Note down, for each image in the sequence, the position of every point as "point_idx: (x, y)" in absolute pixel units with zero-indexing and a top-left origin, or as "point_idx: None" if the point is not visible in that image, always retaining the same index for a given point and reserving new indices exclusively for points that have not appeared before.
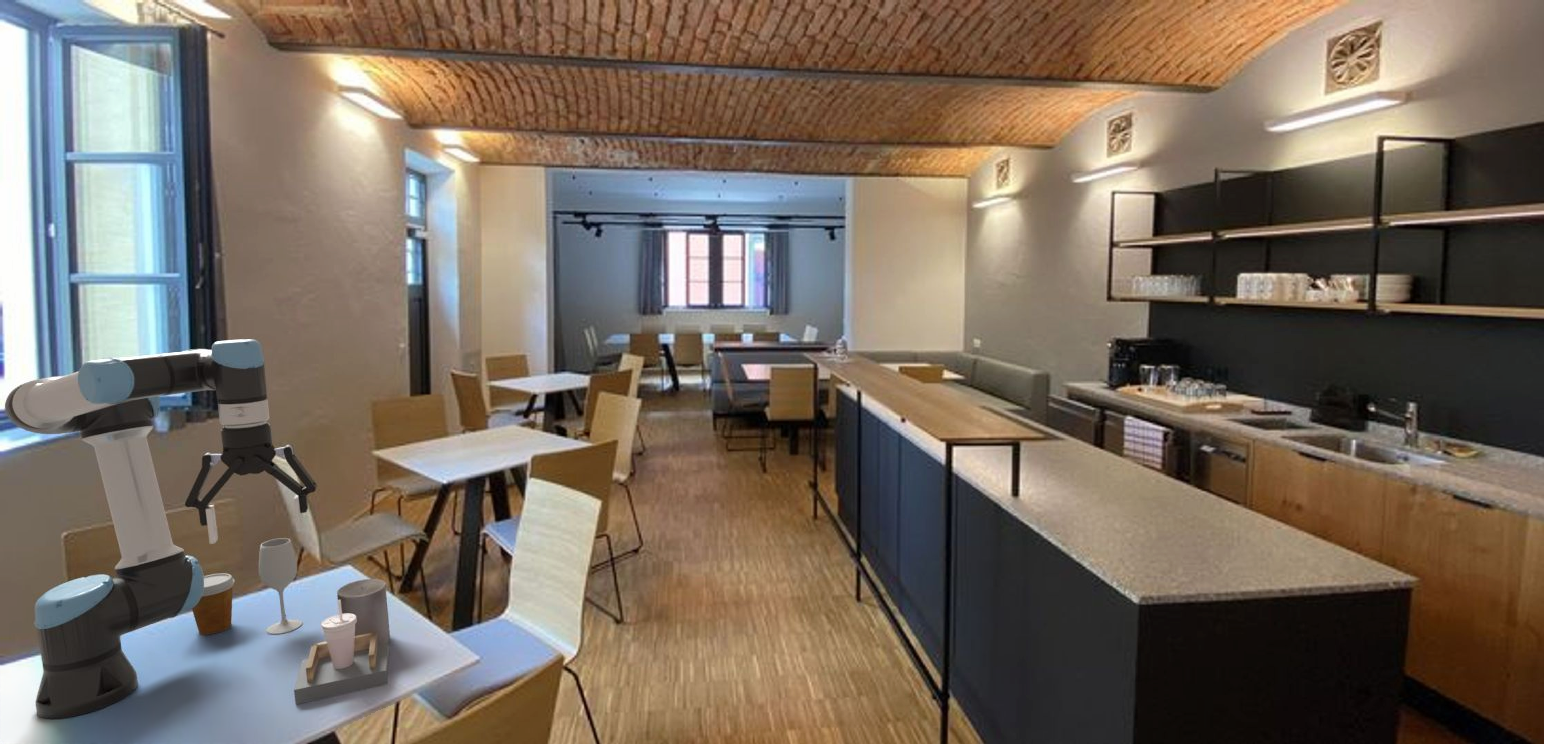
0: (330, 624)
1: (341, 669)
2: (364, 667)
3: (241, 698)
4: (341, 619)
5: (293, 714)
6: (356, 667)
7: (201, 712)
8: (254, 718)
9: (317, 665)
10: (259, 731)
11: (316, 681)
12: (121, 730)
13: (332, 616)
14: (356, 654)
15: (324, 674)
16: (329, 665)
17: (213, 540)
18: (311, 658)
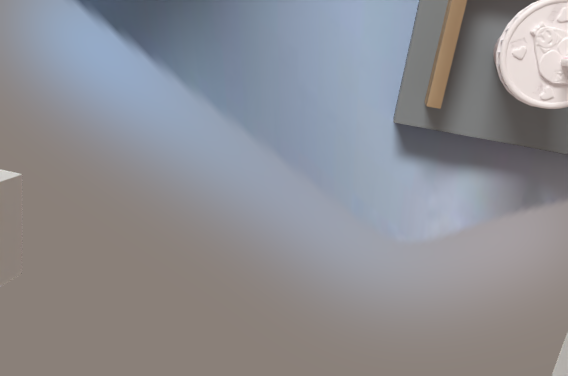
0: (526, 72)
1: None
2: (561, 108)
3: (294, 10)
4: (566, 66)
5: (385, 161)
6: None
7: (224, 28)
8: (317, 127)
9: None
10: (324, 187)
11: (443, 110)
12: (99, 12)
13: (547, 4)
14: None
15: (466, 83)
16: (486, 35)
17: (2, 282)
18: (447, 51)
